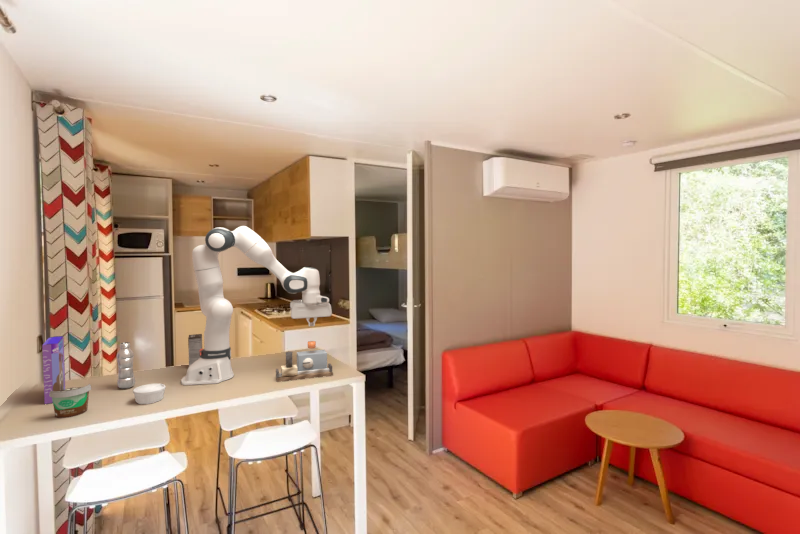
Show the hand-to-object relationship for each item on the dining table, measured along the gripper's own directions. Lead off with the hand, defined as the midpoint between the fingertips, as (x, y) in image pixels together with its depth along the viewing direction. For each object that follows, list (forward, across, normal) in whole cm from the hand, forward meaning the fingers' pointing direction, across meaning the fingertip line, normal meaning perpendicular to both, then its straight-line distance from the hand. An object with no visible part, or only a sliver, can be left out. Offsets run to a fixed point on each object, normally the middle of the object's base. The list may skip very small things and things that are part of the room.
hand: (311, 326), depth 206 cm
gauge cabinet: (+22, 0, 0) cm, 23 cm away
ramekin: (+22, -68, -18) cm, 74 cm away
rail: (+22, -5, -10) cm, 25 cm away
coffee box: (+22, -56, +30) cm, 68 cm away
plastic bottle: (+22, -81, +3) cm, 84 cm away
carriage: (+21, -12, -9) cm, 26 cm away
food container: (+22, -92, -25) cm, 98 cm away
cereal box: (+22, -106, +1) cm, 108 cm away
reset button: (+11, 0, 0) cm, 11 cm away
